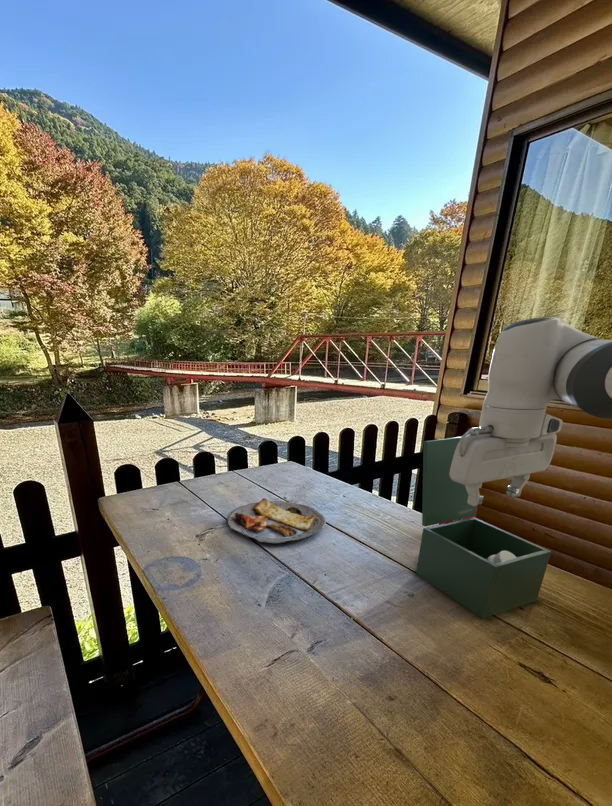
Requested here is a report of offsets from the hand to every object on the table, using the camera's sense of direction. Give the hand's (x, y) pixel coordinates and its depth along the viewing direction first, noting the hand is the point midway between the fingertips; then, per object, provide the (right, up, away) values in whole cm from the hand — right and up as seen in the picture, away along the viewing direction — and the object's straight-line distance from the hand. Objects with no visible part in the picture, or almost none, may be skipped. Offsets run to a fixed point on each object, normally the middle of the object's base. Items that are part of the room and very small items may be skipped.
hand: (493, 500), depth 73 cm
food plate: (-36, -7, +34) cm, 50 cm away
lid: (-3, +4, +7) cm, 9 cm away
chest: (0, -17, +7) cm, 19 cm away
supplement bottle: (0, -16, +5) cm, 17 cm away
